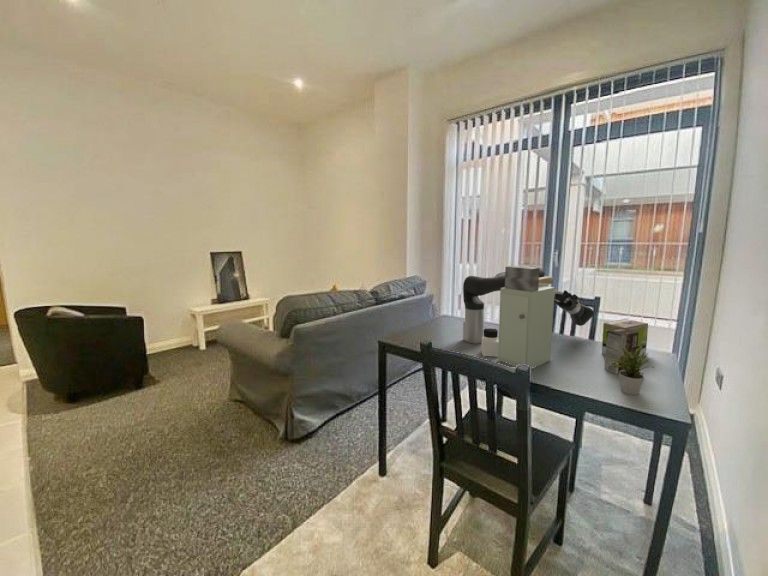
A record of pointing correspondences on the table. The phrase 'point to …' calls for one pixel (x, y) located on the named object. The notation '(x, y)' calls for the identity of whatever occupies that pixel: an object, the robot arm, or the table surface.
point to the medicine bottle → (490, 342)
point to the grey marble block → (525, 278)
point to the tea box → (630, 325)
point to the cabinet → (526, 326)
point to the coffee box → (625, 340)
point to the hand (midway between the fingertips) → (554, 290)
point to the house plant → (631, 371)
